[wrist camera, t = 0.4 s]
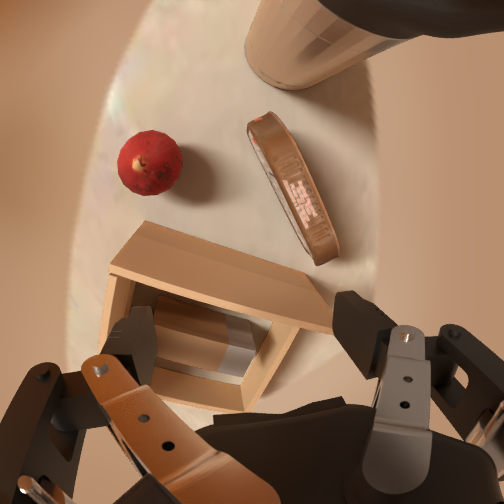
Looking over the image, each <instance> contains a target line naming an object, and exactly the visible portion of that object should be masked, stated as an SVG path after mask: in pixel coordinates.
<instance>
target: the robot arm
mask: <svg viewBox="0 0 504 504" xmlns="http://www.w3.org/2000/svg"><path fill="white" fill-rule="evenodd" d="M501 31H504V0H261V3H260V5H259V8H258V10H257V12H256V15H255V17H254V20H253V22H252V25H251V27H250V30H249V33H248V35H247V38H246V42H245V54H246V58H247V61H248V63H249V65H250V67H251V69H252V70H253V71H254V72H255V73H256V75H257V76H259V77H260V78H261V79H262V80H264V81H265V82H267V83H269V84H270V85H272V86H275V87H278V88H281V89H286V90H302V89H305V88H309V87H311V86H313V85H315V84H317V83H319V82H321V81H323V80H324V79H327V78H329V77H331V76H332V75H334V74H336V73H338V72H340V71H342V70H344V69H346V68H348V67H350V66H352V65H354V64H356V63H358V62H361V61H363V60H365V59H367V58H369V57H371V56H373V55H375V54H378V53H380V52H382V51H384V50H386V49H389V48H391V47H393V46H396V45H398V44H400V43H403V42H405V41H408V40H410V39H413V38H415V37H418V36H421V35H428V36H433V37H439V38H460V37H467V36H473V35H479V34H485V33H493V32H501ZM332 330H333V333H334V336H335V337H336V339H337V340H338V341H339V343H340V344H341V345H342V347H343V348H344V350H345V351H346V352H347V354H348V355H349V356H350V358H351V359H352V360H353V362H354V363H355V365H356V366H357V367H358V369H359V370H360V371H361V373H362V374H363V376H364V377H365V378H366V379H367V380H368V379H372V378H375V377H378V378H379V380H378V383H377V386H376V391H375V394H374V398H373V402H372V406H371V407H368V406H364V405H356V404H346V403H345V401H344V399H343V398H342V396H340V397H336V398H331V399H327V400H322V401H317V402H312V403H310V404H307V405H305V406H302V407H300V408H297V409H295V410H292V411H290V412H287V413H284V414H265V413H249V412H244V413H234V414H221V415H213V421H214V424H213V425H209V426H206V427H203V428H201V429H198V430H196V431H193V430H192V429H191V428H190V427H189V426H188V425H187V424H186V423H184V422H183V421H182V420H181V419H180V418H179V417H178V416H177V415H176V414H175V413H174V412H173V411H172V410H171V409H170V408H169V407H168V406H167V405H166V404H165V403H164V402H163V401H162V400H161V399H160V398H159V397H158V396H157V395H156V394H155V392H154V391H153V390H152V389H151V388H150V386H151V381H152V376H153V371H154V366H155V361H156V356H157V351H158V342H157V335H156V330H155V325H154V319H153V314H152V309H151V307H150V306H133V307H132V309H131V311H130V314H129V316H128V318H121V319H120V320H119V321H118V322H116V323H115V324H114V326H113V328H112V330H111V332H110V334H109V336H108V338H107V340H106V342H105V344H104V346H103V348H102V350H101V352H100V354H99V355H95V356H92V357H90V358H88V359H87V360H86V361H85V362H84V363H83V364H82V366H81V371H77V372H71V373H64V374H62V373H61V371H60V368H59V367H58V366H57V365H56V364H54V363H50V362H45V363H40V364H38V365H36V366H34V367H32V368H31V369H30V370H29V371H28V373H27V375H26V376H25V378H24V380H23V381H22V383H21V385H20V387H19V389H18V390H17V392H16V394H15V396H14V398H13V399H12V401H11V403H10V405H9V407H8V409H7V411H6V413H5V415H4V417H3V419H2V421H1V423H0V504H76V503H75V502H74V501H73V500H72V498H73V492H74V486H75V480H76V475H77V470H78V465H79V460H80V455H81V451H82V447H83V442H84V438H85V434H86V429H90V428H96V427H103V426H106V427H107V428H108V430H109V431H110V433H111V435H112V436H113V438H114V439H115V441H116V442H117V443H118V445H119V446H120V448H121V449H122V451H123V452H124V454H125V455H126V456H127V457H128V459H129V461H130V462H131V464H132V465H133V467H134V468H135V470H136V471H137V472H138V474H139V475H140V476H141V479H140V480H139V481H138V482H137V483H136V484H135V485H134V486H132V487H131V488H130V489H129V490H128V491H127V492H126V493H125V494H123V495H122V496H121V497H120V498H119V499H118V500H116V501H115V502H114V503H113V504H504V498H503V496H502V493H501V490H500V486H499V481H504V361H503V360H502V359H500V358H499V357H498V356H497V355H496V354H495V353H494V352H492V351H491V350H490V349H489V348H488V347H487V346H485V345H484V344H483V343H482V342H481V341H479V340H478V339H477V338H476V337H474V336H473V335H472V334H471V333H470V332H468V331H467V330H466V329H464V328H463V327H461V326H458V325H454V324H446V325H443V326H442V327H441V328H440V331H439V335H438V336H433V337H425V336H424V333H423V332H422V331H421V330H419V329H418V328H415V327H413V326H409V325H400V326H398V325H397V324H396V323H395V322H394V321H393V320H392V319H390V318H389V317H388V316H387V315H386V314H385V313H384V312H383V311H382V310H380V309H379V308H378V307H377V306H376V305H375V304H374V303H371V302H369V301H367V300H365V299H363V298H362V297H360V296H359V295H358V294H357V293H356V292H355V291H353V290H352V291H344V292H337V294H336V296H335V303H334V312H333V320H332ZM458 366H460V367H461V368H462V369H463V370H464V371H465V372H466V373H467V375H468V379H469V382H468V386H467V388H466V389H465V388H464V387H463V386H462V385H461V384H460V383H459V381H458V380H457V379H456V378H455V377H454V375H455V373H456V371H457V368H458ZM430 397H431V398H432V400H433V401H434V402H435V404H436V405H437V406H438V407H439V409H440V410H441V411H442V412H443V414H444V415H445V416H446V418H447V419H448V420H449V422H450V423H451V424H452V426H453V427H454V428H455V430H456V431H457V432H458V433H459V435H460V436H461V438H462V439H463V440H464V441H461V440H458V439H455V438H452V437H449V436H446V435H443V434H440V433H438V432H435V431H432V430H430V429H429V419H430Z"/></svg>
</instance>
